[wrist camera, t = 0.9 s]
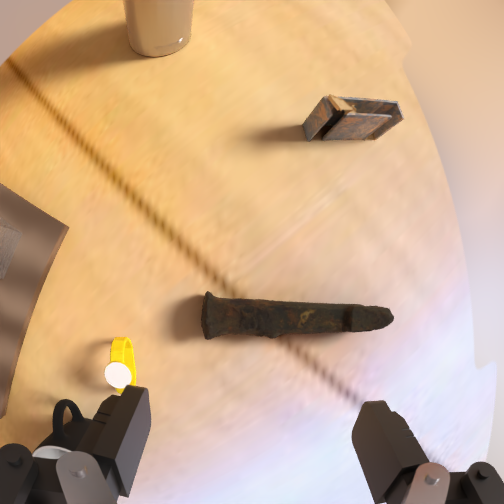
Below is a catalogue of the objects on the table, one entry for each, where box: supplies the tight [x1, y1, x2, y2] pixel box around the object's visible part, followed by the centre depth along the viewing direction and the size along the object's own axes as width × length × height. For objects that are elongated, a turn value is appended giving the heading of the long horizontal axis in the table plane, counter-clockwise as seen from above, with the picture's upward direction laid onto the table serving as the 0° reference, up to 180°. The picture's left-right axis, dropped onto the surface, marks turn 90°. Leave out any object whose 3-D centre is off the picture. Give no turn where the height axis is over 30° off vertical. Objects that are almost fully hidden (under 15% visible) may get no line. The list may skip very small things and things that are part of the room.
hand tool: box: [201, 291, 394, 340], centre depth 33 cm, size 23×5×6 cm, turn 85°
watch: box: [104, 337, 136, 394], centre depth 28 cm, size 6×3×6 cm, turn 4°
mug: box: [32, 399, 93, 459], centre depth 24 cm, size 12×9×10 cm
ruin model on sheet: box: [303, 95, 404, 141], centre depth 35 cm, size 11×3×10 cm, turn 102°
